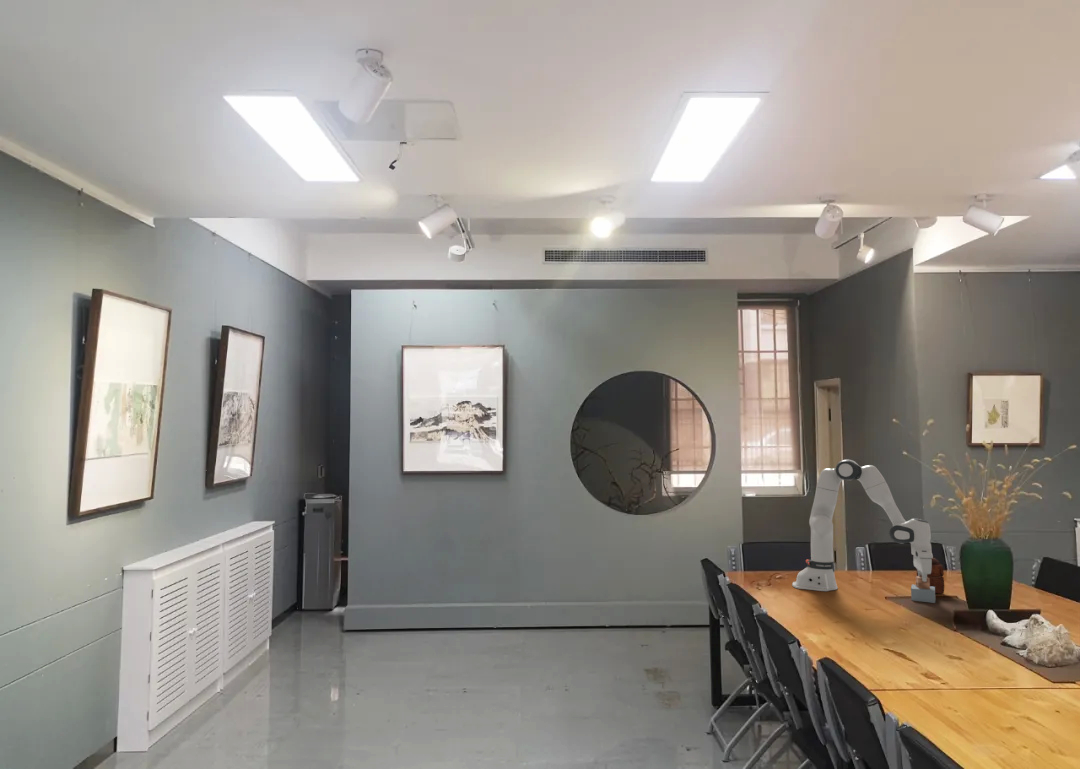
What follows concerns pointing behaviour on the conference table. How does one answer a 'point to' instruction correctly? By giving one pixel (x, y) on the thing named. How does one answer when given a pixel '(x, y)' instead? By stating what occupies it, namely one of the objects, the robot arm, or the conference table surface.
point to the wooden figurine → (936, 576)
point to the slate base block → (923, 594)
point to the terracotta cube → (922, 583)
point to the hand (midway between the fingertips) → (922, 579)
